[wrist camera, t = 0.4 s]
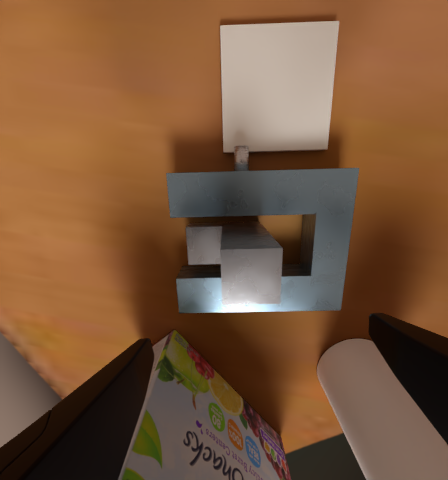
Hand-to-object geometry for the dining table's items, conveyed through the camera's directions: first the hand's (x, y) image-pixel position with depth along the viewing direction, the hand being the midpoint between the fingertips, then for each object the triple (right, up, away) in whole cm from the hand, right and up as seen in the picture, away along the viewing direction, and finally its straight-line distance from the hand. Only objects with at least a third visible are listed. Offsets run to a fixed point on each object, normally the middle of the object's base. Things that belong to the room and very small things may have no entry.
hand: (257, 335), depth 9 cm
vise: (+2, +5, +12) cm, 13 cm away
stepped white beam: (-1, +4, +12) cm, 13 cm away
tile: (+3, +16, +9) cm, 19 cm away
